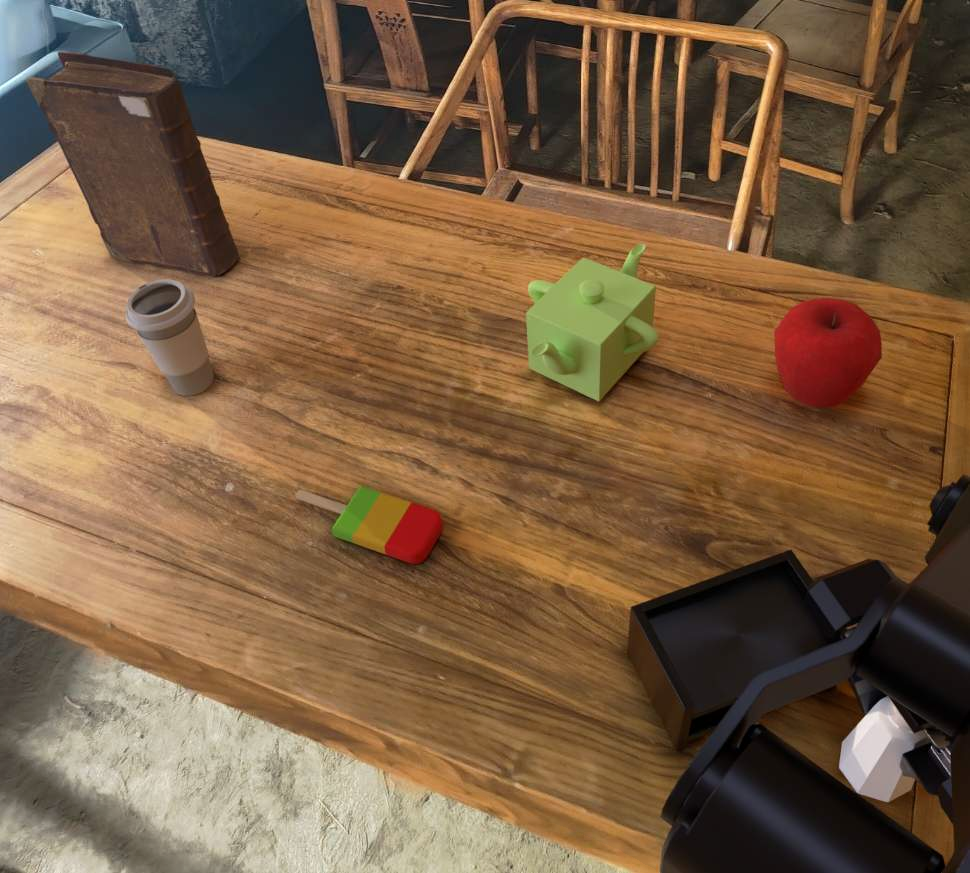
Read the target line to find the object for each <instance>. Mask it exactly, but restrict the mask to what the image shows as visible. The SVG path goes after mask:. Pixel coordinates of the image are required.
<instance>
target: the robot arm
mask: <svg viewBox="0 0 970 873" xmlns="http://www.w3.org/2000/svg"><path fill="white" fill-rule="evenodd" d="M929 510H930V513H931V516H930V518H929V520H928V521H927V523H926V525H927V526H929V527H928V529H927V530H928V532H929V533H930V534H933V535H935V536H936V538H935V539H934V541H933V543H932V544H931V545H930V547H929V550H928V551H927V553H926V555H924V560H925V563H926V564H927V566H925V567H924V568H923V569H922V571H920V573H918V574H917V576H916V577H914V578H913V580H911V581H910V582H906V581H905V580H903V579H901V578H899V577H897V575H896V574H895V573H894V571H893V570H892V569H891V568H890V566H889V565H888V563H887V562H886V561H882V560H880V559H875V558H867V559H864V560H861V561H858V562H856V563H853V564H850V565H847V566H845V567H841V568H839V569H837V570H834V571H831V572H828V573H825V574H823V575H819V576H818V577H816V579H814V580H813V582H812V583H811V584H810V586H809V589H808V592H807V594H806V597H805V601H804V604H803V605H804V607H805V608H806V609H807V611H808V612H809V614H810V615H811V617H812V618H813V620H814V621H815V623H816V624H817V626H818V627H819V629H820V630H821V632H822V633H823V634H824V635H825V636H828V637H830V638H832V639H833V638H836V637H838V636H840V635H841V633H842V630H843V629H845V628H847V630H846V631H845V633H844V636H845V637H846V638H845V639H843V640H840V641H838V642H835V643H833V644H830V645H828V646H825V647H823V648H820V649H817V650H815V651H812V652H810V653H807V654H805V655H802V656H800V657H797V658H795V659H792V660H790V661H787V662H785V663H782V664H780V665H777V666H775V667H772V668H770V669H767V670H765V671H762V672H760V673H759V674H758V675H756V676H755V677H754V678H753V679H752V680H751V681H750V682H749V684H748V685H747V686H746V688H745V689H744V690H743V692H742V693H741V695H740V696H739V697H738V699H737V700H736V701H735V703H734V704H733V705H732V707H731V708H730V709H729V711H728V712H727V714H726V715H725V716H724V718H723V719H722V720H721V722H720V723H719V724H718V726H717V727H716V729H715V730H714V731H713V732H711V734H710V735H709V737H708V738H707V739H706V740H705V742H704V743H703V745H702V746H701V747H700V749H699V750H698V752H697V753H696V754H695V755H694V757H692V760H691V761H690V762H689V764H687V767H686V769H684V771H683V773H682V774H681V775H680V777H679V778H678V780H677V781H676V783H675V784H674V786H673V788H672V790H671V792H670V793H669V795H668V796H667V799H666V800H665V803H664V804H663V807H662V809H661V812H660V818H661V819H662V820H663V821H665V823H667V824H668V825H670V826H671V828H670V830H669V831H668V833H667V835H666V838H665V840H664V841H663V845H662V848H661V853H660V864H659V866H660V867H659V873H970V475H967V474H965V473H963V474H962V475H961V476H960V477H959V479H958V480H957V481H956V482H954V481H952V482H951V483H950V484H948V485H944V486H941V487H940V488H939V489H938V490H937V491H936V493H935V495H934V496H933V498H932V499H931V502H930V503H929ZM846 681H847V682H848V684H849V686H850V688H851V691H852V693H853V695H854V697H855V700H856V701H857V704H858V705H859V708H860V711H861V712H862V715H863V716H864V717H865V716H866V715H867V714H868V712H869V711H870V710H871V709H872V708H873V707H874V706H875V705H876V703H878V702H879V701H880V700H881V699H883V698H885V697H887V696H888V697H889V698H890V700H891V701H892V703H893V704H894V706H895V707H896V708H897V710H898V711H899V713H900V714H901V716H902V717H903V718H904V720H905V721H906V723H907V724H908V726H909V727H910V728H911V730H912V731H913V733H916V732H919V731H921V730H922V731H923V732H924V734H925V735H926V736H927V738H928V739H929V741H930V743H927V744H925V745H923V746H920V747H918V748H915V749H913V750H910V751H908V752H905V753H903V754H902V758H901V762H900V768H901V770H902V773H903V776H907V777H912V778H913V779H915V781H916V782H918V783H919V784H920V785H921V786H922V787H923V789H924V790H925V792H926V793H927V794H929V795H931V796H934V797H937V798H938V802H939V805H940V808H941V810H942V811H943V813H944V814H945V816H946V817H947V818H948V820H949V821H950V823H951V825H952V828H953V829H952V830H953V854H952V855H951V857H950V858H949V860H948V861H947V863H946V861H945V858H944V855H943V854H942V853H940V852H939V851H937V850H936V849H935V848H933V847H932V846H931V845H929V844H928V843H926V842H925V841H924V840H922V839H921V838H919V837H918V836H917V835H915V834H914V833H912V832H911V830H908V829H907V828H905V827H904V826H903V825H902V824H900V823H899V822H897V821H896V820H895V819H894V818H892V817H890V815H888V814H886V813H885V812H883V811H882V810H881V809H879V808H878V807H876V806H875V805H874V804H873V803H871V802H870V801H869V800H867V799H866V798H864V797H863V796H861V794H859V793H857V792H856V791H854V790H853V789H852V788H850V787H849V786H848V785H846V784H845V783H844V782H842V781H841V780H839V779H838V778H836V777H835V776H834V775H832V773H830V772H828V771H827V770H825V769H824V768H823V767H822V766H820V765H819V764H817V762H815V761H813V760H812V759H810V758H808V757H807V756H806V755H804V753H802V752H800V751H799V750H798V749H796V747H794V746H792V745H791V744H790V743H788V742H787V741H785V740H784V739H783V738H782V737H780V736H778V735H777V734H775V733H774V732H773V731H772V730H770V729H769V728H767V727H766V726H765V725H763V724H762V723H758V721H759V720H760V719H761V717H762V716H764V715H765V714H767V713H770V712H773V711H775V710H778V709H779V708H782V707H785V706H787V705H790V704H792V703H795V702H798V701H800V700H803V699H805V698H807V697H810V696H812V695H815V694H818V693H820V692H823V691H826V690H825V689H828V688H830V687H833V686H835V685H838V686H839V684H842V683H844V682H846ZM864 717H863V718H864Z"/></svg>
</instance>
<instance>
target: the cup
mask: <svg viewBox="0 0 970 873" xmlns="http://www.w3.org/2000/svg"><path fill="white" fill-rule="evenodd" d="M195 305H196V296H195V294H194V292H192V290H191V289H190V288H189V287H187V286H186V285H184V284H183V283H181V282H180V281H178V280H176V279H171V278H162V279H161V278H160V279H155V280H152V281H149V282H146V283H144V284H142V285H140V286H139V287H137V288H135V290H134V291H133V292H132V293H131V294H130V295H129V297H128V298H127V302H126V310H125V320H126V323H127V324H128V326H130V327H131V328H132V329H134V330H136V333H137V335H138V337H139V339H140V340H141V342H142V344H143V345H144V346H145V348H146V350H147V351H148V353H149V355H150V357H151V358H152V360H153V361H154V363H155V364H156V366H157V368H158V369H159V370H160V372H161V373H163V375H164V376H165V378H166V380H167V382H168V384H169V385H170V387H171V388H172V390H173V391H174V393H175V394H178V395H180V396H183V397H190V396H191V397H192V396H197V395H199V394H202V393H203V392H205V391H206V390H208V389H209V388H210V386H211V385H212V384H213V383H214V381H215V373H214V370H213V366H212V364H211V361H210V357H209V350H208V347H207V343H206V339H205V336H204V334H203V331H202V327H201V324H200V320H199V317H198V313H197V311H196V309H195Z"/></svg>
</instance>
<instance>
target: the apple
mask: <svg viewBox="0 0 970 873" xmlns="http://www.w3.org/2000/svg"><path fill="white" fill-rule="evenodd" d="M773 332H774V333H773V334H774V337H773V338H774V356H775V357H774V358H775V365H776V369H777V372H778V375H779V378H780V381H781V384H782V386H783V388H784V390H785V392H786V393H787V394H788V395H789V396H790V397H791V398H792V399H794V401H797V402H798V403H800V404H802V405H805V406H807V407H811V408H818V409H828V408H834V407H837V406H839V405H841V404H842V403H843V402H845V401H847V400H848V399H850V397H851V396H852V395H854V393H856V392H857V391H858V390H859V389H860V388H861V387H862V386H863V385H864V383H865V382H866V381H867V380H868V378H869V376H870V375H871V373H872V372H873V371H874V370H875V368H876V367H877V366H878V364H879V362H880V361H881V359H882V358H883V352H882V350H883V348H882V347H883V346H882V343H883V342H882V336H881V330H880V328H879V327H878V325H877V323H876V321H874V319H873V318H872V317H871V316H870V315H869V314H868V313H867V312H866V311H865V310H863V309H862V308H861V307H860V306H858V304H856V303H854V302H850V301H848V300H844V299H839V298H834V297H833V298H832V297H821V298H812V299H807V300H804V301H802V302H800V303H798V304H795V305H794V306H791V307H790V308H789V310H788V311H787V312H786V314H785V315H784V316H783V318H781V321H780V322H779V324H778V325H777V326H776V328H775V330H774V331H773Z"/></svg>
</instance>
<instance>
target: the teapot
mask: <svg viewBox="0 0 970 873" xmlns="http://www.w3.org/2000/svg"><path fill="white" fill-rule="evenodd" d="M645 250H646V244H645V243H638V244H636V245H635V246H634V247H632V249H631V250H630V251H629V253H628V255H627V256H626V258H625V261H624V263H623V265H622V267H621V269H620V271H619V270H617V269H614V268H611V267H609V266H607V265H604V264H601V263H599V262H596V261H594V260H591V259H588V258H587V257H582V258H581V259H580V260H578V261H577V262H576V263H575V264H574V265H573V266H572V267H571V268H570V269H569V270H567V272H566V273H565V274H564V275H563V276H561V277H560V279H558V281H557V282H556V283H554V282H551V281H548V280H545V279H544V280H543V279H535V280H532V281H531V282H530V283H528V286H527V291H528V294H529V296H530V298H531V300H532V301H533V303H534V304H533V305H532V306H531V307H530V308H528V310H527V311H526V312H525V318H526V320H525V321H526V337H527V340H526V341H527V358H528V369H529V370H532V371H534V372H536V373H538V374H540V375H542V376H544V377H546V378H549V379H550V380H552V381H555V382H557V383H558V384H561V385H563V386H565V387H567V388H569V389H572V390H573V391H575V392H578V393H580V394H582V395H584V396H586V397H588V398H589V399H593V400H595V401H597V402H600V401H601V400H602V399H603V398H604V397H605V396H606V394H608V392H609V391H610V390H611V389H612V388H613V387H614V386H615V385H616V384H617V382H618V381H619V380H620V379H621V378H622V376H624V374H625V373H626V372H627V371H628V370H629V369H630V367H631V366H632V365H633V364H635V362H636V361H637V360H638V359H639V358H640V356H642V354H643V353H644V352H646V351H649V350H651V349H653V348H654V347H655V346H656V345H657V344H658V342H659V339H660V337H659V336H660V335H659V332H658V331H657V330H656V329H655V328H654V314H655V303H656V293H657V286H656V285H654V284H651V283H649V282H647V281H643V280H641V279H639V278H638V270H639V264H640V262H641V258H642V256H643V255H644V252H645Z"/></svg>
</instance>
